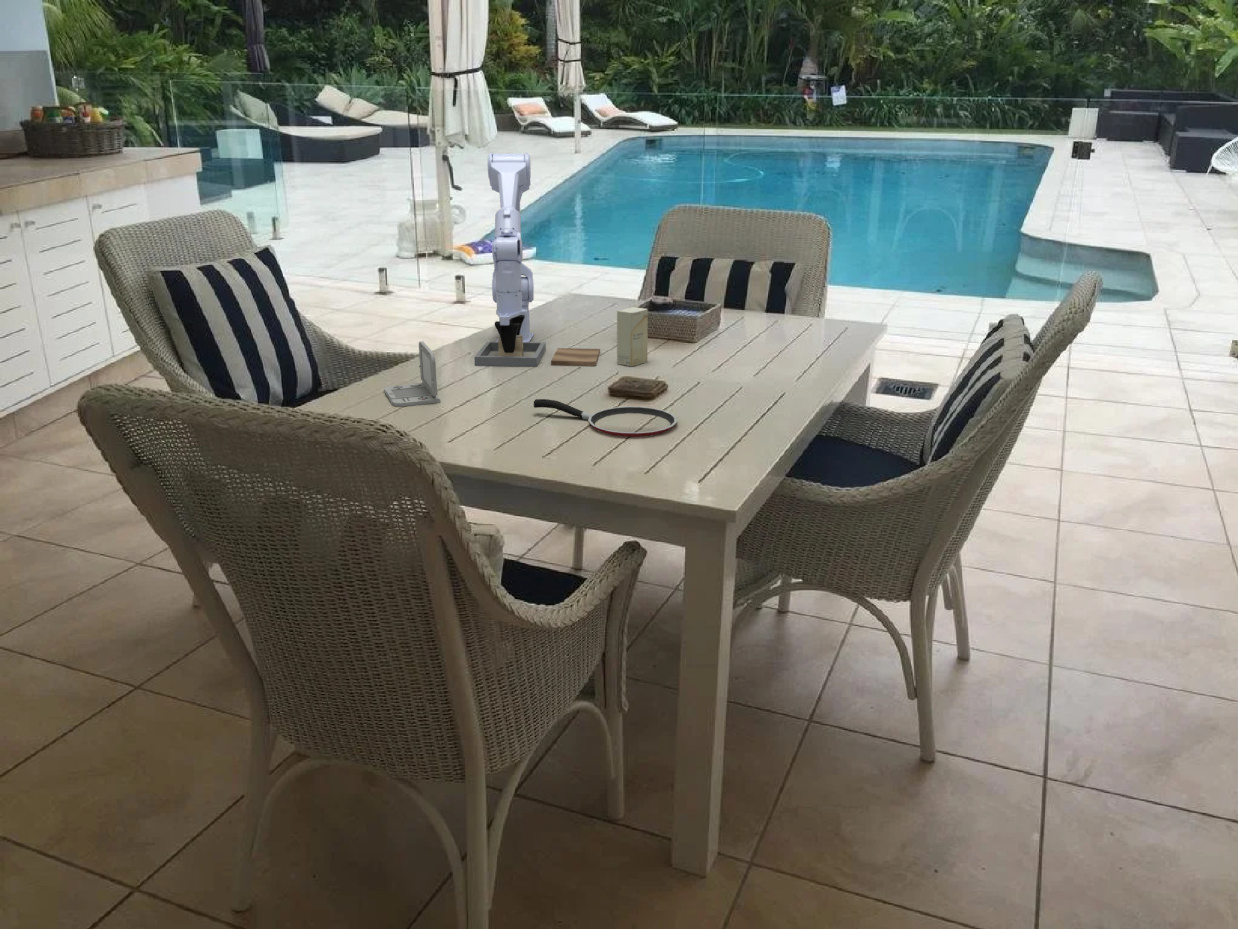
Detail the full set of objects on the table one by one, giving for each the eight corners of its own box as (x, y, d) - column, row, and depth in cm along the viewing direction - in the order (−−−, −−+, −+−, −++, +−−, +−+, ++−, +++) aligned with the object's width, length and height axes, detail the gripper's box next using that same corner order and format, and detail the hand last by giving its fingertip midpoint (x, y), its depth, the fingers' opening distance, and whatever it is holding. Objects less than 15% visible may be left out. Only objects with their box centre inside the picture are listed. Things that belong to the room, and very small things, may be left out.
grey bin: (487, 349, 250) (486, 341, 249) (545, 350, 249) (545, 342, 248) (474, 365, 236) (474, 356, 235) (536, 366, 235) (536, 357, 234)
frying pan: (516, 428, 194) (516, 411, 193) (550, 404, 209) (549, 387, 208) (662, 444, 186) (662, 426, 185) (686, 417, 201) (687, 400, 199)
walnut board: (557, 352, 248) (557, 348, 247) (600, 353, 247) (600, 348, 247) (551, 365, 236) (551, 360, 236) (595, 366, 236) (595, 361, 235)
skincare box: (631, 367, 235) (632, 313, 231) (615, 364, 237) (615, 310, 233) (648, 361, 240) (648, 308, 235) (632, 358, 242) (632, 306, 238)
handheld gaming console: (383, 390, 217) (379, 343, 214) (427, 386, 220) (424, 339, 217) (394, 408, 206) (390, 358, 202) (440, 403, 209) (437, 354, 205)
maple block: (501, 355, 245) (501, 334, 243) (523, 356, 244) (522, 334, 243) (498, 360, 241) (498, 338, 239) (520, 360, 241) (520, 338, 239)
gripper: (521, 297, 230) (523, 357, 235) (531, 285, 244) (532, 342, 248) (489, 296, 231) (492, 357, 235) (501, 284, 244) (503, 342, 249)
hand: (510, 349), depth 242 cm, fingers open, 4 cm apart
